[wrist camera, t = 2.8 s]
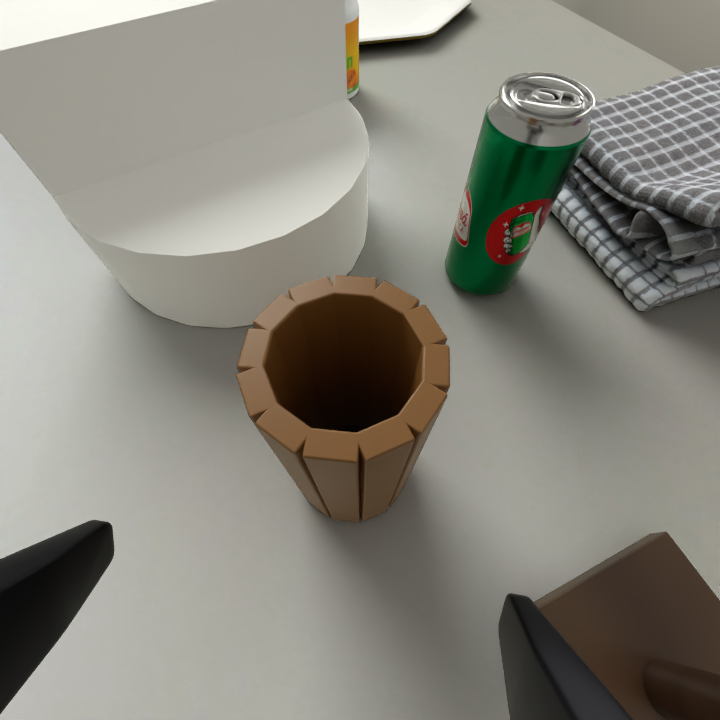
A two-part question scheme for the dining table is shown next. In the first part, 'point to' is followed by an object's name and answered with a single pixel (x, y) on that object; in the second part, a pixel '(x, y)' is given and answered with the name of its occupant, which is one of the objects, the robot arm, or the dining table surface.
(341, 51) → the white stepped round block
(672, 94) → the towel
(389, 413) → the slatted wooden pen holder
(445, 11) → the plate
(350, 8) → the supplement bottle
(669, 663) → the peg stand
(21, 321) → the dining table surface
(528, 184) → the soda can
